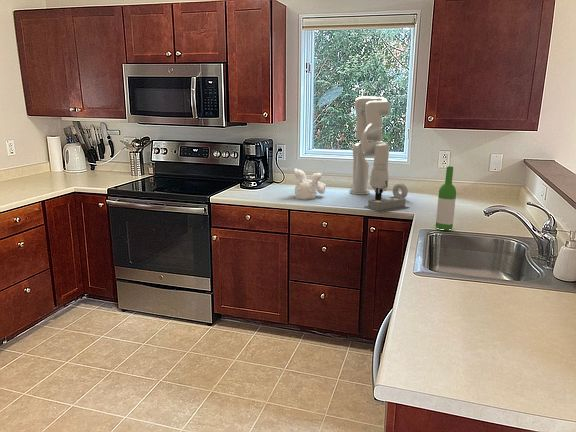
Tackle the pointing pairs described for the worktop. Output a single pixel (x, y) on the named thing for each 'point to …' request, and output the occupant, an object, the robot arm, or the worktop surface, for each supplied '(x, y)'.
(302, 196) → the cream lumpy figurine
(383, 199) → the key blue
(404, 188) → the donut
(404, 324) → the worktop surface
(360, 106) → the robot arm
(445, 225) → the wine bottle
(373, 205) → the keypad
